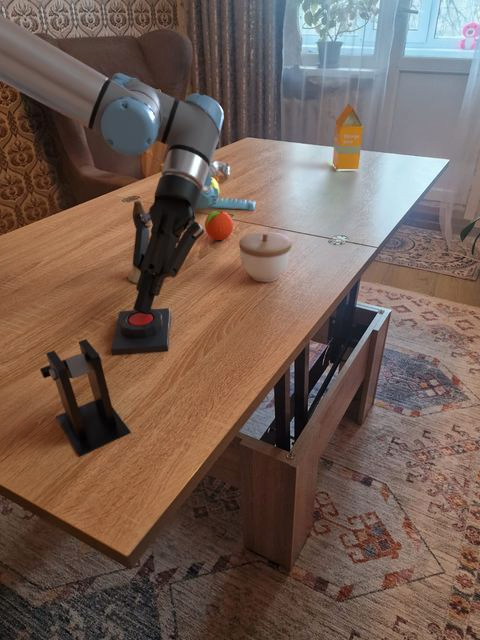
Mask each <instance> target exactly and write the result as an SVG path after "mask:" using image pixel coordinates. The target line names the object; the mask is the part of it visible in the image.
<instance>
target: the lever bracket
mask: <svg viewBox="0 0 480 640" xmlns="http://www.w3.org/2000/svg"><path fill="white" fill-rule="evenodd" d="M78 346H79V349H80V352H81V353H80V354H84V357H85V359H86V362H87V364H88V367H89V369H90V372H89V373H87V374H86V375H87V378H88V381H89V385H90V389H91V392H92V396H93V400H91V401H90V402H87V403H84V404H82V405H78V402H77V398H76V396H75V392H74V389H73V385H72V382H71V378H69V375H68V372H67V369H66V367H65V365H64V364H63V362H62V359H61V358H60V357H59V355H58V353H57V352H56V351H55V350H52V351H48V352H46V353H45V355H46V357H47V361H48V363H49V365H50V367H51V369H50V370H49V372H50V375H51V376H50V377H51V379H52V381H54V382H55V385H56V389H57V390H58V394H59V398H60V400H61V403H62V406H63V409H64V412H63V413H61V414H58V415H56V416H55V418H56V420H57V422H58V424H59V425H60V427H61V429H62V431H63V432H64V433H65V435H66V437H67V439H68V440H69V443H70V444H71V446H72V448H73V449H74V451H75V453H76V454H77V456H78V457H79V458H81V457H83V456H85V455H87V454H89V453H92V452H94V451H96V450H98V449H100V448H102V447H105V446H106V445H109V444H110V443H113V442H115V441H117V440H119V439H122V438H124V437H125V436H128V435H130V434H131V433H132V431H131V430H130V428H129V427H128V426H127V424H126V423H125V421H124V420H123V419H122V418H121V416H120V415H119V413H118V412H117V411H116V409H115V408H114V407H113V405H112V399H111V397H110V393H109V392H110V391H109V388H108V385H107V379H106V377H105V371H104V369H103V365H102V361H103V360H102V357H101V354H100V353H99V352H98V351H97V350H96V349H95V348H94V346H93V345H92V344H91V343H90V342H89V341H88V339H82V340H79V341H78Z"/></svg>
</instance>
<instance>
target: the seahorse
mask: <svg viewBox="0 0 480 640" xmlns="http://www.w3.org/2000/svg"><path fill="white" fill-rule="evenodd" d="M230 171H231V166H230V165H229V162H228V161H227V162H226V163H224V162H222V161H219V160H218V161H217V160H212V161H211V164H210V167H209V171H208V175H210V176H211V178H213V177H214V176H216V177H217V175H218V172H220V174H222V175H223V176H224V178H225V179H226V180H227V179H229V178H230Z"/></svg>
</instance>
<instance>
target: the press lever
mask: <svg viewBox="0 0 480 640" xmlns="http://www.w3.org/2000/svg"><path fill="white" fill-rule="evenodd" d="M61 361H62V362H63V364H64V365H65V367H66V369H67V372H68V375H69V378H70V379H76V378H79V377H81V376H85V375H87V373H89V372H90V369H89V367H88V364H87V362H86V359H85V357H84V354H82V353H77V354H75V355H72V356H68V357H67V358H63V359H61ZM50 369H51V367H50V364H49V365H46V366H44V367H41V368H40V369H39V371H40V373H41V376H42V378H43V379H46V378H50V377H51V375H50V372H49V370H50Z"/></svg>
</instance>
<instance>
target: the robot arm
mask: <svg viewBox="0 0 480 640" xmlns="http://www.w3.org/2000/svg"><path fill="white" fill-rule="evenodd" d="M0 82H1V83H4V84H5V85H7V86H9V87H11V88H13V89H15V90H16V91H18V92H20V93H22V94H24V95H26V96H28V97H29V98H31V99H33V100H35V101H37V102H39V103H40V104H42V105H44V106H46V107H48V108H50V109H52V110H53V111H55V112H58V113H59V114H61V115H63V116H65V117H67V118H69V119H71V120H72V121H74V122H76V123H77V124H79V125H82V126H83V127H85V128H87V129H89V130H91V131H93V132H94V133H96V134H98V135H100V136H102V137H103V139H104V141H105V142H106V143H107V145H108V146H109V147H110V148H111V149H112V150H113V151H115V152H116V153H118V154H119V155H122V156H125V157H137V156H140V155H142V154H144V153H145V152H147V151H148V150H149V149H150V148H151V147H152V146H153V144H155V143H156V142H159V143H161V144H163V145H167V146H169V149H168V151H167V154H166V157H165V160H164V163H163V165H162V169H161V172H160V173H161V176H160V177H159V180H158V183H157V186H156V189H155V191H154V201H153V203H152V205H151V206H150V207H149V209H148V212H145V214H143V215H140V214H139V213H137V214H136V215H135V217H134V218H135V222H136V226H137V227H135V238H134V248H133V258H132V267H133V266H135V267H136V268H138V269H139V270H140V272H141V274H140V277H139V280H138V283H137V284H136V287H135V288H136V291H137V292H138V293H137V296H136V299H135V302H134V305H133V307H132V308H133V309H132V310H136V311H138V312H140V313H142V314H147V315H149V313H150V310H151V309H152V306H153V304H154V300H155V297H158V296H159V295H160V293H161V291H162V288H163V284H164V281H165V280H166V279H167V278H170V277H171V278H175V277H176V276H177V275H178V273H179V272H180V270H181V268H182V266H183V265H184V262H185V261H186V259H187V257H188V256H189V255H190V252H191V250H192V248H193V247H194V245H195V243H196V241H197V240H198V239H199V238H201V237H202V236H203V234H204V233H205V228H203V227H202V226H201V225H200V223H199V222H198V221H196V213H195V212H196V211H197V210H198V204H199V200H200V197H201V190H202V189H203V187H204V183H205V180H206V177H207V174H208V171H209V167H210V164H211V162H212V161H213V158H214V154H215V152H216V149H217V146H218V142H219V139H220V137H221V132H222V127H223V123H224V120H225V119H224V118H225V116H224V110H223V108H222V107H221V105H220V104H219V102H217V101H216V100H215V99H213V97H211V96H209V95H206V94H202V95H201V94H199V93H191V94H189V95H187V96H186V98H185V99H184V100H183V101H182V100H180V99H179V100H178V99H177V98H174V97H172V96H170V95H168V94H165V93H163V92H162V91H160V90H158V89H156V88H154V87H152V86H150V85H148V84H146V83H144V82H142V81H140V80H139V79H137V78H135V77H131V76H129V75H126V74H124V73H121V72H116V73H115V74H114V75H112V77H111V79H110V78H109V77H107V76H106V75H104V74H103V73H100V72H99V71H97V70H96V69H94V68H92V67H90V66H88V65H87V64H85V63H84V62H82V61H80V60H79V59H77V58H75V57H73V56H72V55H71V54H69V53H67V52H65V51H64V50H62V49H60V48H58V47H56V46H54V45H53V44H51V43H50V42H48V41H46V40H44V39H43V38H41V37H39V36H38V35H36V34H34V33H32V32H31V31H29V30H28V29H26V28H24V27H22V26H21V25H19V24H17V23H16V22H14V21H12V20H11V19H9V18H7V17H6V16H4V15H3V14H0ZM150 228H151V230H150Z"/></svg>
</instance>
